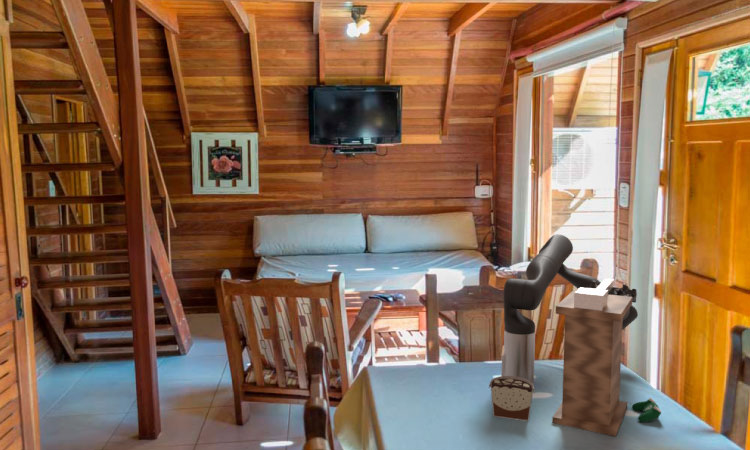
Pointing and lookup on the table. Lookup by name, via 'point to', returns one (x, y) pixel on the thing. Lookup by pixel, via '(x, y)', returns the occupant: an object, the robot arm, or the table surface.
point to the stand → (592, 366)
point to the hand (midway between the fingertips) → (608, 285)
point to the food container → (511, 397)
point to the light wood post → (593, 296)
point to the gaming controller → (647, 410)
